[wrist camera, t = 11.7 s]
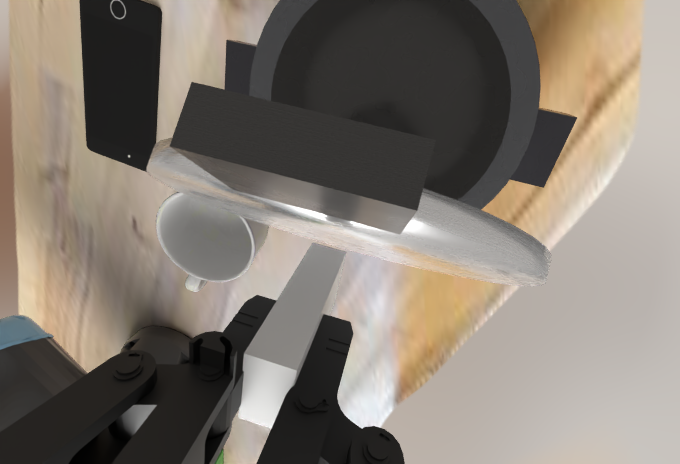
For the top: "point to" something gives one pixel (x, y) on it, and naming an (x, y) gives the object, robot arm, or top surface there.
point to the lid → (337, 187)
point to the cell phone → (121, 77)
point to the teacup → (207, 240)
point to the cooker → (416, 82)
